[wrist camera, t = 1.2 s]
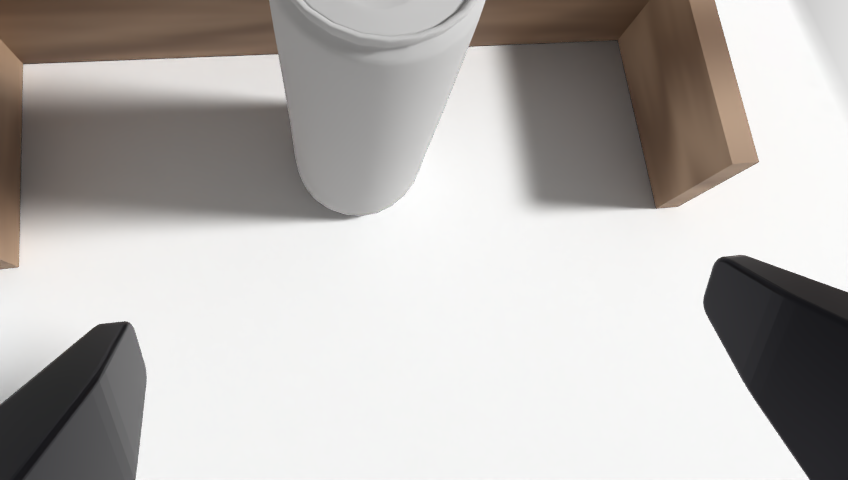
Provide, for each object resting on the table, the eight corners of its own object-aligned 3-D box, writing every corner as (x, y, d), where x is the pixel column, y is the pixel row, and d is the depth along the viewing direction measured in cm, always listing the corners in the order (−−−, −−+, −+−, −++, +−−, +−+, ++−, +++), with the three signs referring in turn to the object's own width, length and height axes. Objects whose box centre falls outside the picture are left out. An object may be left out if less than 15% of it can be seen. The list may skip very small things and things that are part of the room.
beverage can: (428, 119, 25) (512, -122, 13) (406, 232, 23) (479, 72, 12) (309, 92, 24) (290, -183, 13) (281, 205, 23) (231, 13, 11)
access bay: (678, 206, 25) (759, 161, 21) (-14, 270, 21) (-117, 232, 16) (632, 15, 27) (696, -66, 23) (-6, 36, 23) (-95, -60, 18)
